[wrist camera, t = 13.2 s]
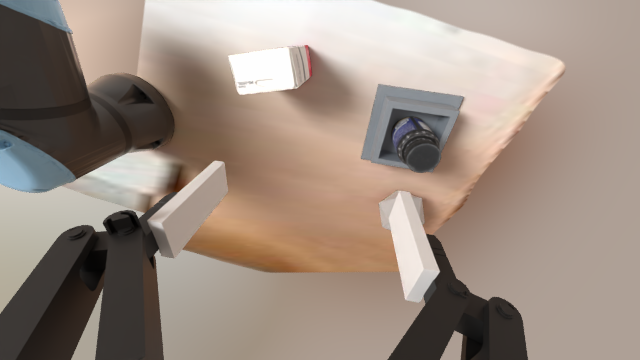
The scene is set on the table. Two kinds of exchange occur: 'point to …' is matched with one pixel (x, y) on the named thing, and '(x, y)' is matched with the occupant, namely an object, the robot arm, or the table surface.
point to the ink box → (271, 69)
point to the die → (389, 202)
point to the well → (403, 103)
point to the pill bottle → (416, 144)
